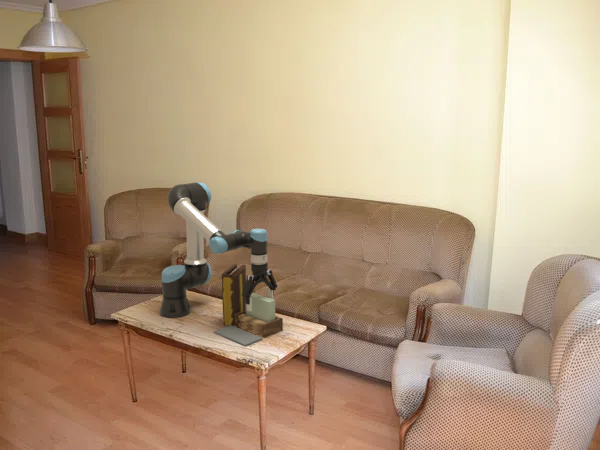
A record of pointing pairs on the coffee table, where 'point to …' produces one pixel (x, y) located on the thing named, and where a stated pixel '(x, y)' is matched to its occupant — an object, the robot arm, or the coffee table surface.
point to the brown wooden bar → (251, 324)
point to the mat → (238, 335)
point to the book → (233, 293)
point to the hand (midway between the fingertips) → (260, 306)
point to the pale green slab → (262, 308)
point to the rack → (266, 325)
